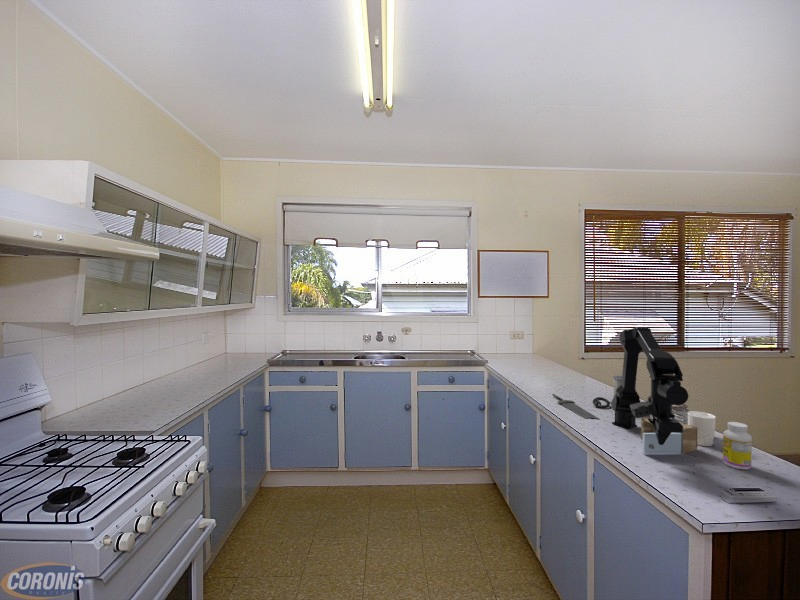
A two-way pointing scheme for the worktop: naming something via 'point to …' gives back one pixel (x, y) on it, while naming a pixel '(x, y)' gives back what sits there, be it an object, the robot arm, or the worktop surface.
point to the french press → (681, 412)
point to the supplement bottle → (737, 446)
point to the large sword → (575, 408)
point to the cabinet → (688, 432)
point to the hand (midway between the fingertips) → (660, 444)
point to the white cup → (703, 426)
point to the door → (669, 447)
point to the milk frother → (616, 384)
